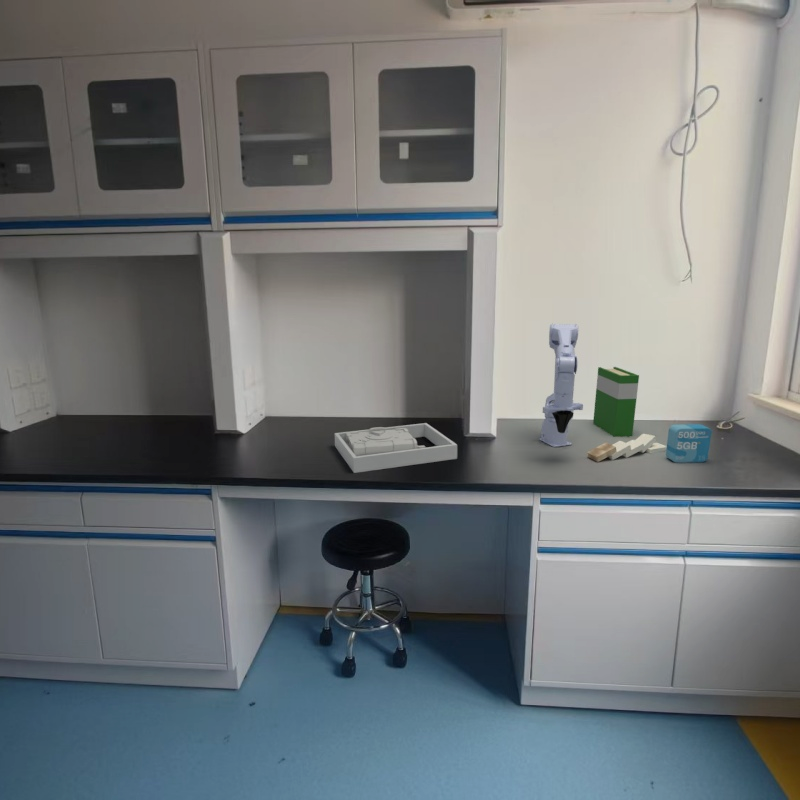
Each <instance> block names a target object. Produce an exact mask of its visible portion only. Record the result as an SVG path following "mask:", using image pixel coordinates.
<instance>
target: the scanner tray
mask: <svg viewBox="0 0 800 800" xmlns="http://www.w3.org/2000/svg"><path fill="white" fill-rule="evenodd" d="M384 428H385V430H394V429H398V428H407V429H408V431H409V433H410V434H411V436H412V437H413V438H415V439H417V438H422V437H423V438H426V439H427V440H428V441H430V442H431V443H432V444H434V446H429V447H425V448H418V449H411V450H403V451H395V452H388V453H380V454H372V455H364V456H356V455H355V454H354V453H353V452H352V450H351V449H350V448H349V447H348V445H347V444H346V443H349V440H346V439H347V438H346V432H347V431H341V432H334V448H336V449H337V451H338V453H339V454H340V455H341V456H342V458H343V460H344V461H345V462H346V463H347V465H348V467H349V468H350V469H351V471H352V472H353V474H354V473H355V474H356V473H365V472H371V471H378V470H383V469H392V468H398V467H406V466H413V465H422V464H427V463H428V464H429V463H434V462H435V463H436V462H442V461H443V462H444V461H449V460H457V459H458V444H457V443H456V442H455V441H453V440H451V439H450V438H448V437H447V436H446V435H444V434H443V433H442V432H440V431H439V430H437V429H436V428H434V427H433V426H431V425H430V424H428V423H427V422H424V423H416V424H415V423H413V424H406V425H397V426H396V425H395V426H388V427H387V426H386V427H384ZM369 429H370V428H369ZM369 429H362V430H360V429H359V430H352V431H349V432H367V431H369Z"/></svg>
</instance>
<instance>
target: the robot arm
mask: <svg viewBox="0 0 800 800" xmlns="http://www.w3.org/2000/svg"><path fill="white" fill-rule="evenodd" d="M548 333H549V334H548V345H549V348H550V349H552V350H553V351H554V354H555V358H554V359H555V361H554V364H555V365H554V380H553V381H554V382H553V385H554V386H553V392H552V394H550V395H547V397H546V399H545V402H544V403H545V405H544V406H542V413H543V414H544V419H543V421H542V424H541V436H540V438H539V441H542V442H543V443H546V444H547V445H549V446H552V447H553V448H559V447H564V446H565V447H566V446H572V445H573V443H572V442H571V441H568V431H569V423H570V421H572V419H574V414H575V413H574V411H583V410H584V405H583V403H580V402H575V403H574V389H575V376H576V374H577V372H578V365H579V364H578V363H579V362H578V357H577V356H576V353H575V348H576V345H577V341H578V338H579V325H578V324H576V323H575V324H570V323H569V324H568V323H567V324H563V323H562V324H561V323H557V324H556V323H551V324H550V325H549V332H548Z"/></svg>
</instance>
